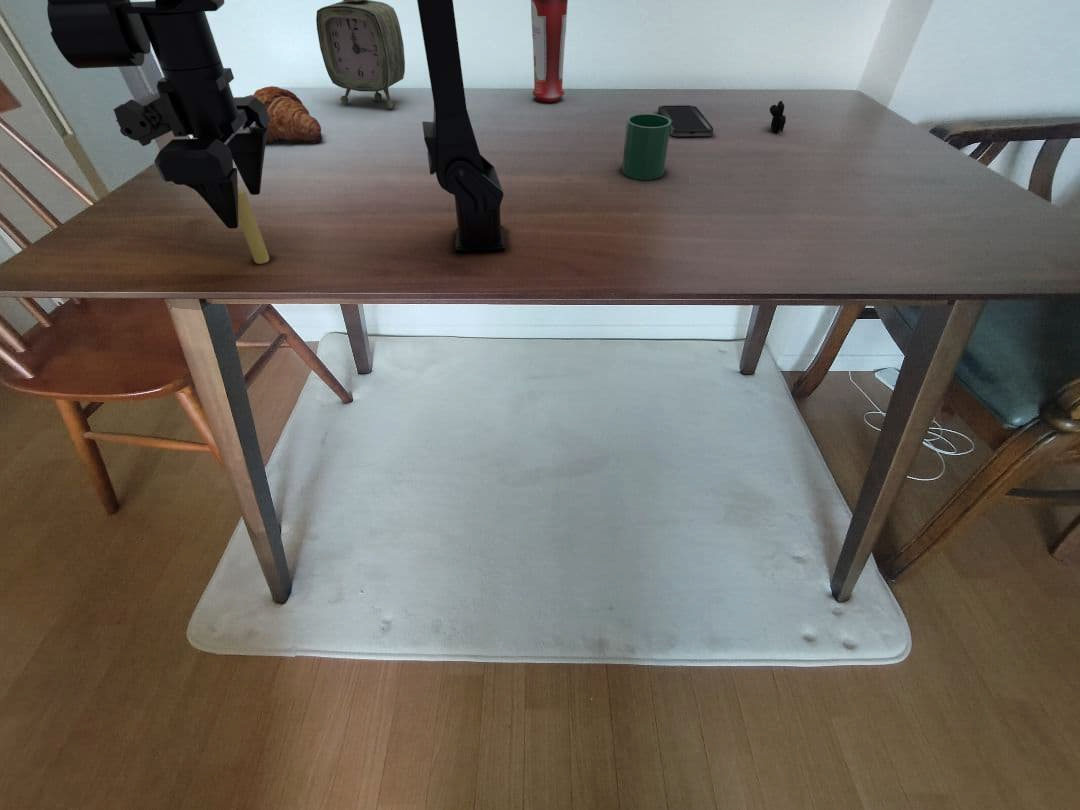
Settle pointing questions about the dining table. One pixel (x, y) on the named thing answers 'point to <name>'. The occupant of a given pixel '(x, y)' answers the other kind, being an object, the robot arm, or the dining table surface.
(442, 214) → the dining table surface
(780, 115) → the black figurine
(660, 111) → the phone
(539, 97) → the liquor
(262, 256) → the yellow rod
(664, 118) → the cup
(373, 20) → the tabletop clock
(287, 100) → the pastry
